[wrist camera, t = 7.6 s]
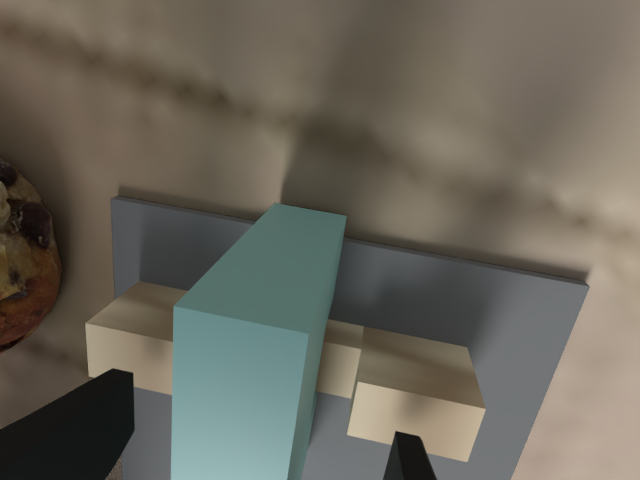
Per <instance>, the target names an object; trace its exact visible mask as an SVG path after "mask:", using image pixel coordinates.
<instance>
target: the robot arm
mask: <svg viewBox="0 0 640 480" xmlns="http://www.w3.org/2000/svg"><path fill="white" fill-rule="evenodd" d="M134 431H135V422H134V378H133V373H132V372H128V371H123V370H119V369H114V368H112V369H110V370H108V371H106V372H104V373H103V374H101V375H99V376H97V377H95V378H94V379H92V380H90V381H88V382H87V383H85V384H83V385H81V386H80V387H78V388H76V389H74V390H73V391H71V392H69V393H67V394H66V395H64V396H62V397H60V398H58V399H57V400H55V401H53V402H51V403H49V404H48V405H46V406H44V407H42V408H40V409H39V410H37V411H35V412H33V413H31V414H30V415H28V416H26V417H24V418H22V419H20V420H18V421H16V422H14V423H12V424H10V425H8V426H6V427H4V428H2V429H0V480H105V478H106V477H107V476H108V474H109V473H110V471H111V470H112V469H113V467H114V466H115V464H116V462H117V461H118V459H119V457H120V456H121V454H122V452H123V450H124V449H125V447H126V445H127V443H128V442H129V440H130V438H131V436H132V434H133V433H134ZM383 480H437V478H436V475H435V473H434V470H433V468H432V465H431V463H430V460H429V458H428V455H427V452H426V450H425V447H424V444H423V441H422V439H421V438H420V437H419V436H416V435H412V434H407V433H403V432H398V431H395V435H394V439H393V442H392V446H391V450H390V454H389V458H388V462H387V465H386V469H385V473H384V477H383Z"/></svg>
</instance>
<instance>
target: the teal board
mask: <svg viewBox="0 0 640 480" xmlns="http://www.w3.org/2000/svg"><path fill="white" fill-rule="evenodd" d="M346 219H347V216H345V215H339V214H334V213H328V212H322V211H317V210H311V209H306V208H300V207H294V206H289V205H283V204H278V203H274V204H273V205H272V206H271V207H270V208H269V209H268V210H267V211H266V212H265V213H264V214H263V215H262V216H261V217H260V218H259V219H258V220H257V222H256V223H255V224H254V225H253V226H252V227H251V228H250V229H249V230H248V231H247V232H246V233H245V234H244V235H243V236H242V237H241V238H240V239H239V240H238V241H237V242H236V243H235V244H234V245H233V246H232V247H231V248H230V249H229V250H228V251H227V252H226V253H225V254H224V255H223V256H222V257H221V258H220V259H219V260H218V261H217V262H216V263H215V264H214V265H213V266H212V267H211V268H210V269H209V270H208V271H207V272H206V274H205V275H204V276H203V277H202V278H201V279H200V280H199V281H198V282H197V283H196V284H195V285H194V286H193V287H192V288H191V289H190V290H189V291H188V292H187V293H186V294H185V295H184V296H183V297H182V298H181V299H180V300H179V301H178V302H177V303H176V304H175V305H174V309H173V373H172V437H171V480H301V477H302V472H303V468H304V463H305V459H306V454H307V450H308V444H309V438H310V432H311V426H312V420H313V415H314V409H315V403H316V397H317V391H315V389H316V383H317V377H318V371H319V365H320V359H321V353H322V347H323V340H324V334H325V328H326V323H327V319H328V316H329V312H330V308H331V304H332V300H333V296H334V290H335V284H336V278H337V272H338V266H339V261H340V255H341V249H342V243H343V237H344V231H345V225H346Z"/></svg>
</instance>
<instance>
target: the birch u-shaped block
mask: <svg viewBox="0 0 640 480" xmlns="http://www.w3.org/2000/svg"><path fill="white" fill-rule="evenodd" d="M187 292H188V291H186V290H181V289H176V288H171V287H166V286H161V285H156V284H151V283H146V282H141V281H139V282H137V283H136V284H135V285H133V286H132V287H131V288H130V289H128V290H127V291H126V292H124V293H123V294H122V295H121V296H119V297H118V298H117V299H115V300H114V301H113V302H112V303H110V304H109V305H108V306H106V307H105V308H104V309H103V310H101V311H100V312H99V313H97V314H96V315H95V316H94V317H92V318H91V319H90V320H88V321H87V322H86V323H85V329H86V343H87V357H88V371H89V377H94V378H95V377H97V376H99V375H101V374H103V373H104V372H106V371H108V370H110V369H112V368H114V369H119V370H123V371H128V372H132V373H133V378H134V387H138V388H142V389H147V390H151V391H156V392H160V393H164V394H169V395H172V373H173V309H174V305H175V304H176V303H177V302H178V301H179V300H180V299H181V298H182V297H183V296H184V295H185V294H186V293H187ZM315 391H318V392H323V393H327V394H332V395H337V396H341V397H346V398H350V399H351V404H350V412H349V421H348V429H347V435H350V436H354V437H358V438H363V439H367V440H372V441H376V442H380V443H385V444H389V445H392V442H393V439H394V435H395V431H398V432H403V433H407V434H412V435H416V436H419V437H420V438H421V439H422V441H423V444H424V447H425V450H426V452H427V453H429V454H433V455H438V456H442V457H446V458H451V459H455V460H460V461H464V462H467V461H468V459H469V456H470V453H471V450H472V447H473V444H474V442H475V439H476V436H477V433H478V430H479V427H480V425H481V422H482V419H483V416H484V413H485V410H486V407H485V404H484V401H483V398H482V394H481V391H480V388H479V384H478V381H477V378H476V374H475V371H474V368H473V365H472V361H471V358H470V355H469V351H468V348H467V347H463V346H458V345H453V344H448V343H443V342H439V341H434V340H429V339H424V338H419V337H414V336H409V335H404V334H399V333H394V332H389V331H384V330H379V329H374V328H369V327H364V326H359V325H354V324H349V323H344V322H339V321H335V320H330V319H327V323H326V328H325V334H324V340H323V347H322V353H321V359H320V365H319V371H318V377H317V383H316V389H315Z"/></svg>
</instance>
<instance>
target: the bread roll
mask: <svg viewBox="0 0 640 480" xmlns="http://www.w3.org/2000/svg"><path fill="white" fill-rule="evenodd" d="M8 185H9V186H8ZM52 220H53V219H52V216H51V214H50V212H49V211H48V210H47V209H45V208H44V205H43V203H42V198H41V197H40V195H39V194H38V192H37V191H36V189H35V188H34V187H33V186H32V185H31V184H30V183H29V182H28V181H27V180H26V179H25V178H24V177H23V176H22V175H21V174H20V172H19V171H18V170H17V168H16V167H15V166H13V165H11V164H9V163H7V162H5V161H4V160H3V159H2V158H1V157H0V354H1V353H3V352H4V351H6V350H8V349H10V348H12V347H13V346H14V345H16V344H17V343H19V342H21V341H22V340H24V339H25V338H26V337H28V336H29V335H31V334H32V333H33V332H34V331H35V329H36V328H37V327H38V326H39V325H40V323H41V322H42V321H43V319H44V317H45V316H46V315H47V314H48V313H49V312H50V310H51V308H52V307H53V305H54V303H55V301H56V299H57V295H58V290H59V284H60V277H61V271H62V265H61V261H60V257H59V253H58V249H57V245H56V242H55V238H54V233H53V224H52Z"/></svg>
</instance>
